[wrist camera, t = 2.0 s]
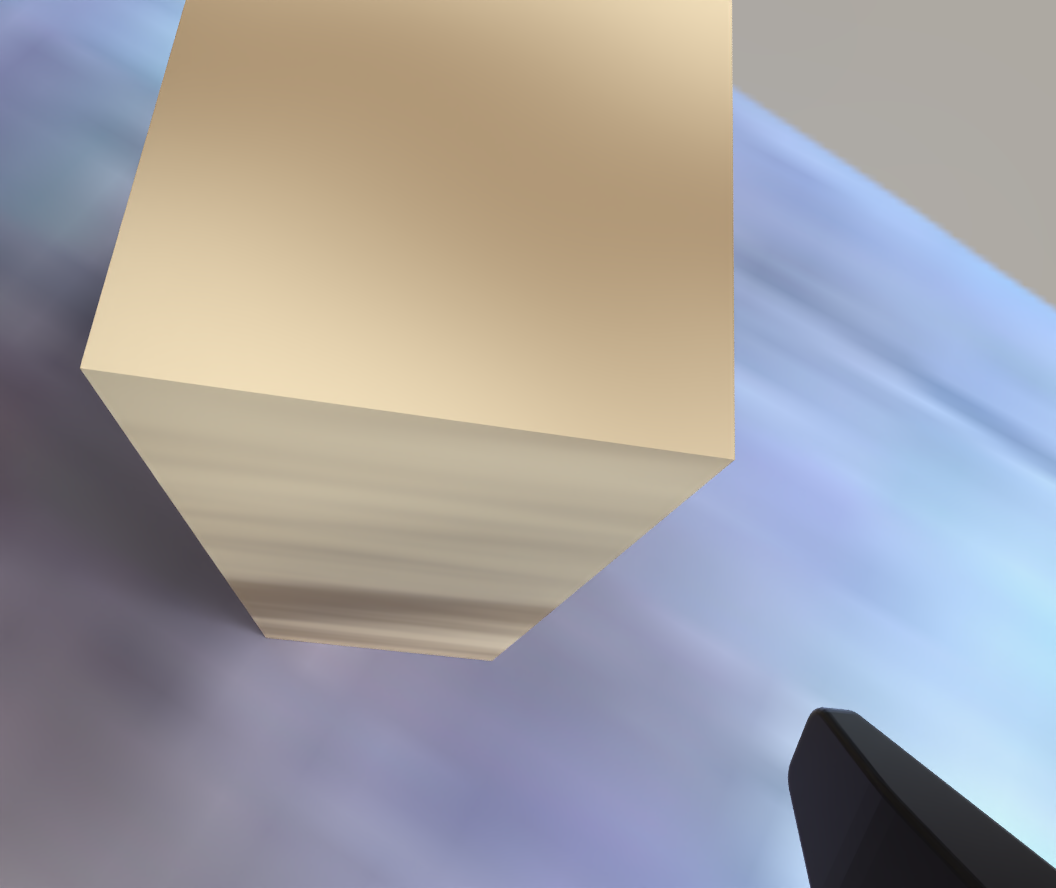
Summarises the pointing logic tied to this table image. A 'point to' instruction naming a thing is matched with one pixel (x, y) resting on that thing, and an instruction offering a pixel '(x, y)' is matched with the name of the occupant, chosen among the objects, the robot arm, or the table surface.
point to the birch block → (427, 302)
